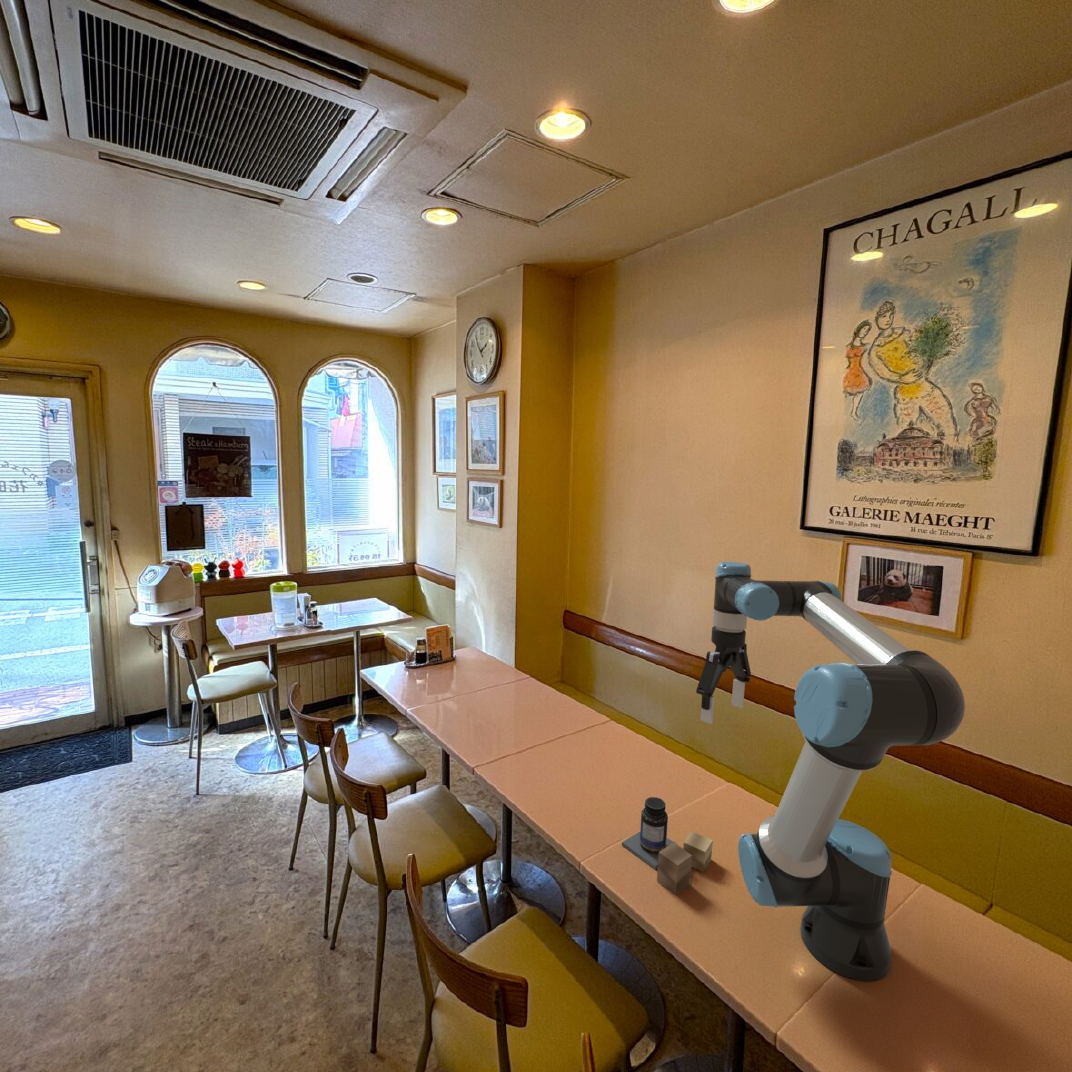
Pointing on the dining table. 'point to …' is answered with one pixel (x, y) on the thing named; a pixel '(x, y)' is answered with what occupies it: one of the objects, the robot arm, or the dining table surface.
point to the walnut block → (674, 868)
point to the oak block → (699, 850)
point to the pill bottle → (653, 825)
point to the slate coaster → (637, 850)
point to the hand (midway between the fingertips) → (722, 713)
